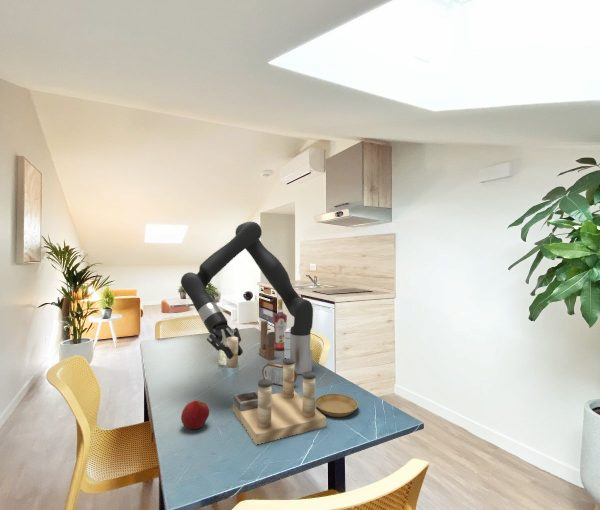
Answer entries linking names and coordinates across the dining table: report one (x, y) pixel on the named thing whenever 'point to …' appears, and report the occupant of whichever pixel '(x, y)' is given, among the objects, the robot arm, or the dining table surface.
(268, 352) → the wooden block
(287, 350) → the syrup box
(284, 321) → the liquor
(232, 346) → the birch leg
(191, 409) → the apple
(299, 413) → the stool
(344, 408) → the plant saucer
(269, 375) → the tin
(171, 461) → the dining table surface
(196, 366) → the dining table surface
